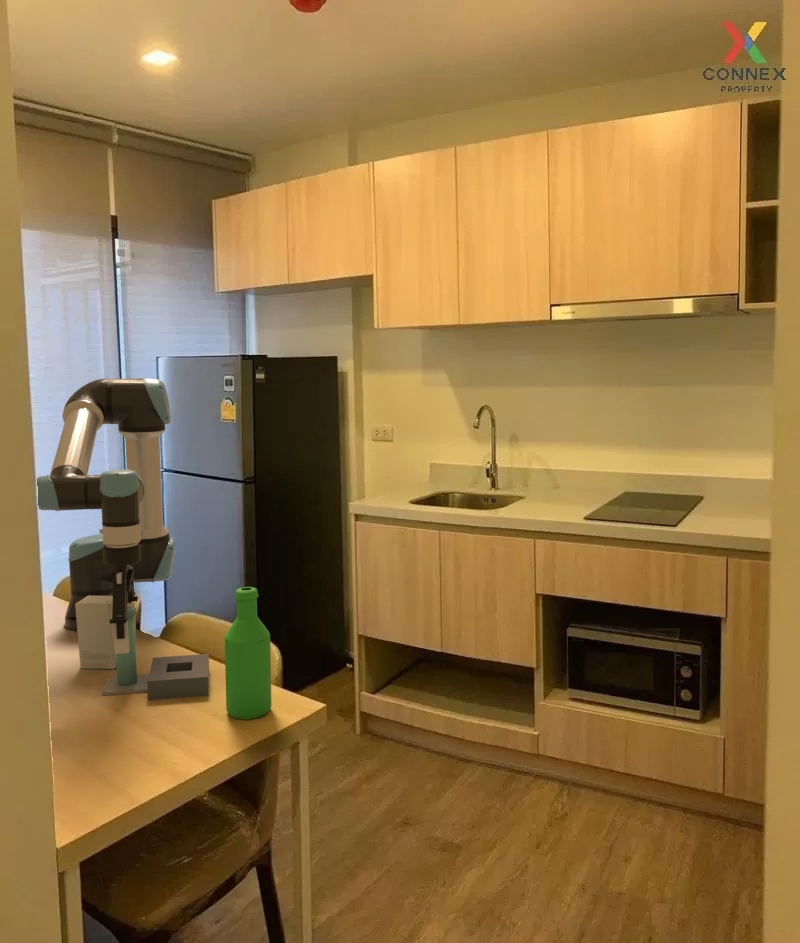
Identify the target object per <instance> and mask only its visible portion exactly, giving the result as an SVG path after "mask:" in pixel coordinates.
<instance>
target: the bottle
mask: <svg viewBox="0 0 800 943" xmlns="http://www.w3.org/2000/svg"><path fill="white" fill-rule="evenodd" d="M257 598H259V591H258V589H257V588H256V587H251V586H245V587H244V586H243V587H240V588H237V589H236V590H235V594H234V599H235V600H236V618H235V620H234V622H232V624H231V626H230V628H228V630H227V632H226V634H225V635H224V668H225V669H224V671H225V672H224V674H225V706H226V708H225V709H226V712H227V713H228V714H229V715H230V716H232V717H233V718H236V719H238V720H239V719H240V720H252V719H257V718H260V717H263V716H264V715H266V714H267V713H268V712H269V711H270V710H271V708H272V667H271V666H272V664H271V662H272V658H271V653H272V652H271V633H270V631H269V630H268V629H267V627H266V626H265V625H264V623H263V622H262V621H261V619H260V618H259V617H258V599H257Z"/></svg>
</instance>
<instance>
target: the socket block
mask: <svg viewBox="0 0 800 943" xmlns="http://www.w3.org/2000/svg"><path fill="white" fill-rule="evenodd" d="M209 654H210V653H202V654H201V653H200V654H188V655H173V656H171V655H170V656H162V657H161V656H160V657H159V656H158V657H157V656H156V657H152V659H151V665H150V669H149V673H148V674H149V677H148V681H147V683H148V692H147V700H148V701H153V700H167V699H179V698H190V697H204V696H209V690H208V689H209V687H210V686H209V685H210V655H209Z"/></svg>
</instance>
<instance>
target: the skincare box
mask: <svg viewBox="0 0 800 943" xmlns="http://www.w3.org/2000/svg"><path fill="white" fill-rule="evenodd" d="M112 607H113V596H87V597H85V598H84V599H82V600H81V601H79V602H77V603H76V604H75V608H76V620H77V630H76V632H77V643H78V652H79V653H78V654H79V665H80V669H82V670H83V669H85V670H86V669H89V670H91V669H93V670H95V669H96V670H114V669H117V661H116V654H115V647H114V624H110V619H112Z"/></svg>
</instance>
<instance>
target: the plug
mask: <svg viewBox="0 0 800 943" xmlns="http://www.w3.org/2000/svg"><path fill="white" fill-rule="evenodd" d="M136 616H137V608H136V606H135V607H127V621H128V637H129V653H119V654H116V661H117V667H116V676H117V684H118V685H120V686H130V685H133V684H135V683H137V674H138V672H137V670H138V668H137V647H136V646H137V643H136V642H137V640H136V632H135V625H136ZM117 617H121V615H120V616H117Z"/></svg>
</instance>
